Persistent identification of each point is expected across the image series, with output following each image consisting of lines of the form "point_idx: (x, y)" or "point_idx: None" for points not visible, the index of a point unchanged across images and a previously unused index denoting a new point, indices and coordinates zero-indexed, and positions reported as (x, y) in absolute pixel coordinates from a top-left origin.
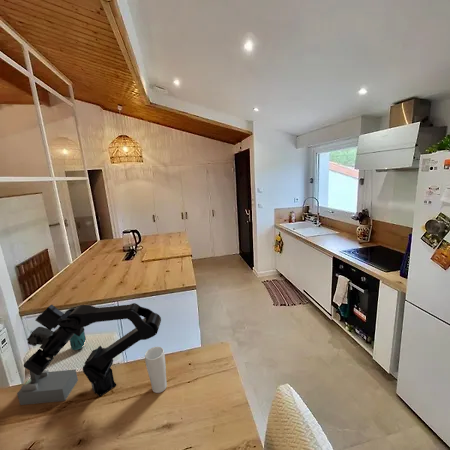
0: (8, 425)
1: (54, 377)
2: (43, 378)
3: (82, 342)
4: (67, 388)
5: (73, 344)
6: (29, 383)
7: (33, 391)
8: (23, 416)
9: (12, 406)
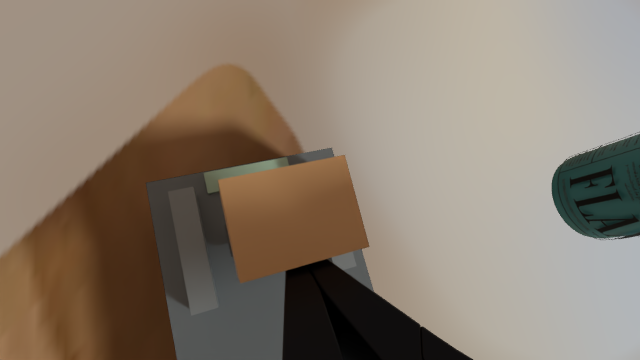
0: (17, 267)
1: None
2: None
3: (621, 233)
4: None
5: (591, 193)
6: None
7: (170, 306)
8: (85, 305)
9: (154, 165)
